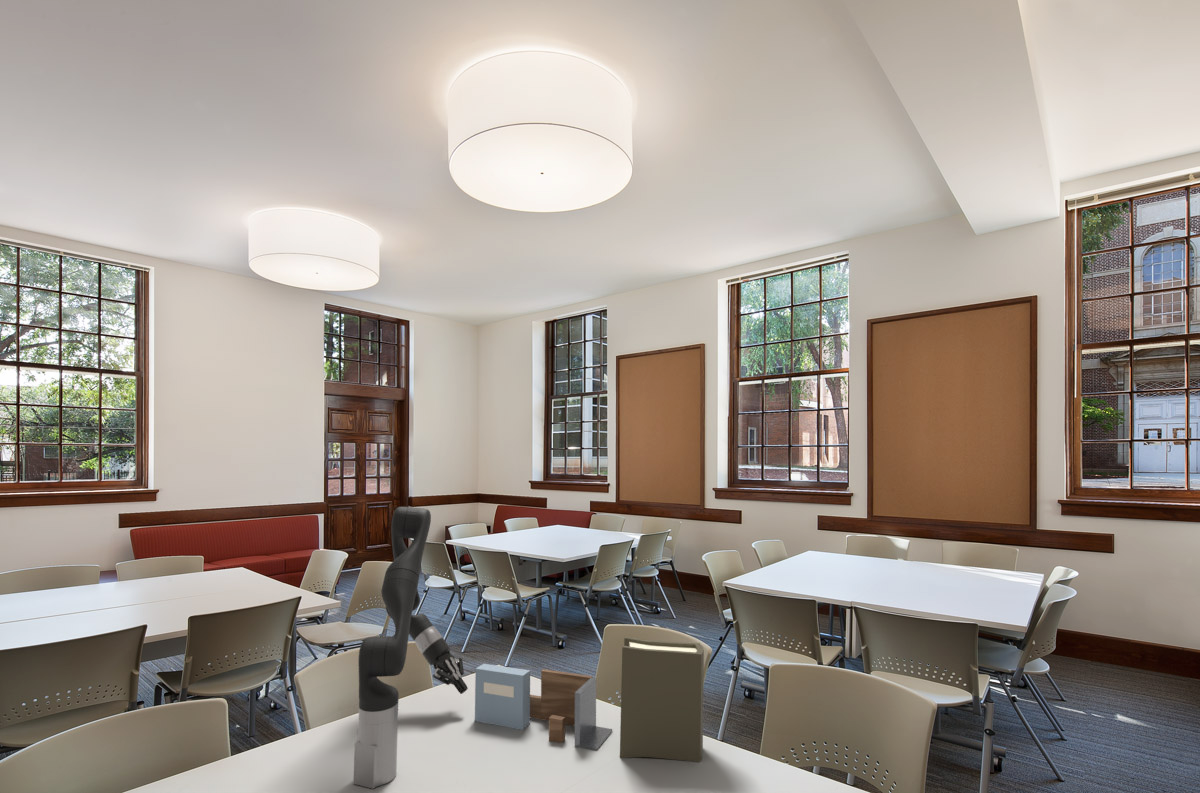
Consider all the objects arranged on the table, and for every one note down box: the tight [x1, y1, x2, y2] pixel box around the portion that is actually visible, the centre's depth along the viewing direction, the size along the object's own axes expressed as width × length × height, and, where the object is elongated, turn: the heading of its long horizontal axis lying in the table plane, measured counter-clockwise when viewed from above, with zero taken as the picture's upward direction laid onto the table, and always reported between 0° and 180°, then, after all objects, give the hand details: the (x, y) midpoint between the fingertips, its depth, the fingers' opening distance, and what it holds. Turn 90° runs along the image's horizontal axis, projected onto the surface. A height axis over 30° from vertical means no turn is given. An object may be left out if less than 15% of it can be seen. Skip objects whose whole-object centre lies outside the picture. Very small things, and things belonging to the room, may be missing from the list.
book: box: [619, 636, 705, 763], centre depth 163 cm, size 22×9×28 cm, turn 84°
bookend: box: [574, 677, 613, 751], centre depth 169 cm, size 12×6×14 cm, turn 159°
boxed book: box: [474, 663, 531, 731], centre depth 180 cm, size 5×16×15 cm, turn 69°
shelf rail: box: [530, 668, 594, 744], centre depth 177 cm, size 12×29×14 cm, turn 69°
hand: (464, 691), depth 185 cm, fingers closed
